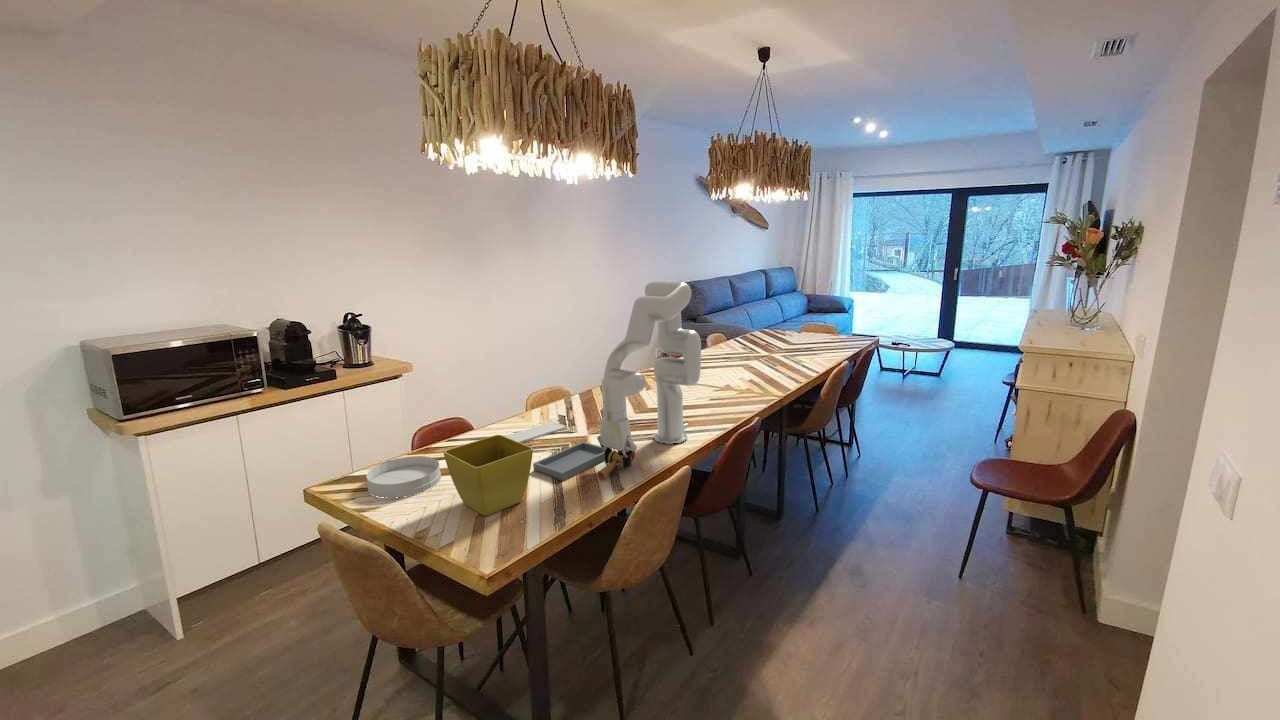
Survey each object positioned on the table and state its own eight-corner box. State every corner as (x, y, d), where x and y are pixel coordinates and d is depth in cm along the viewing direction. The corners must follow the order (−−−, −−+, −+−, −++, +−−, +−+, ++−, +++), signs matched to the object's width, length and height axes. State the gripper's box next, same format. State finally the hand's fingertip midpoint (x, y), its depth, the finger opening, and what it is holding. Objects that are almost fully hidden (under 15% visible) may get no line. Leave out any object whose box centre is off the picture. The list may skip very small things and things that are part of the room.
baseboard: (483, 443, 215) (499, 451, 206) (483, 436, 214) (499, 444, 206) (549, 423, 236) (567, 429, 227) (549, 416, 235) (566, 423, 227)
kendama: (614, 486, 176) (642, 457, 190) (608, 468, 174) (637, 441, 188) (595, 485, 180) (624, 457, 194) (589, 468, 179) (619, 441, 193)
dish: (455, 475, 186) (454, 461, 185) (404, 504, 166) (402, 489, 165) (406, 465, 195) (404, 452, 194) (351, 493, 175) (349, 478, 174)
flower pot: (503, 482, 179) (498, 433, 175) (538, 500, 166) (534, 447, 162) (447, 504, 165) (441, 451, 162) (481, 525, 153) (475, 468, 149)
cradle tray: (583, 448, 205) (582, 441, 204) (612, 456, 197) (611, 449, 196) (533, 471, 187) (533, 463, 186) (563, 481, 178) (562, 473, 178)
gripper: (587, 412, 183) (590, 462, 187) (628, 422, 173) (631, 474, 177) (602, 406, 189) (605, 454, 193) (643, 415, 178) (645, 466, 183)
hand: (617, 464), depth 185 cm, fingers closed on kendama, 7 cm apart
